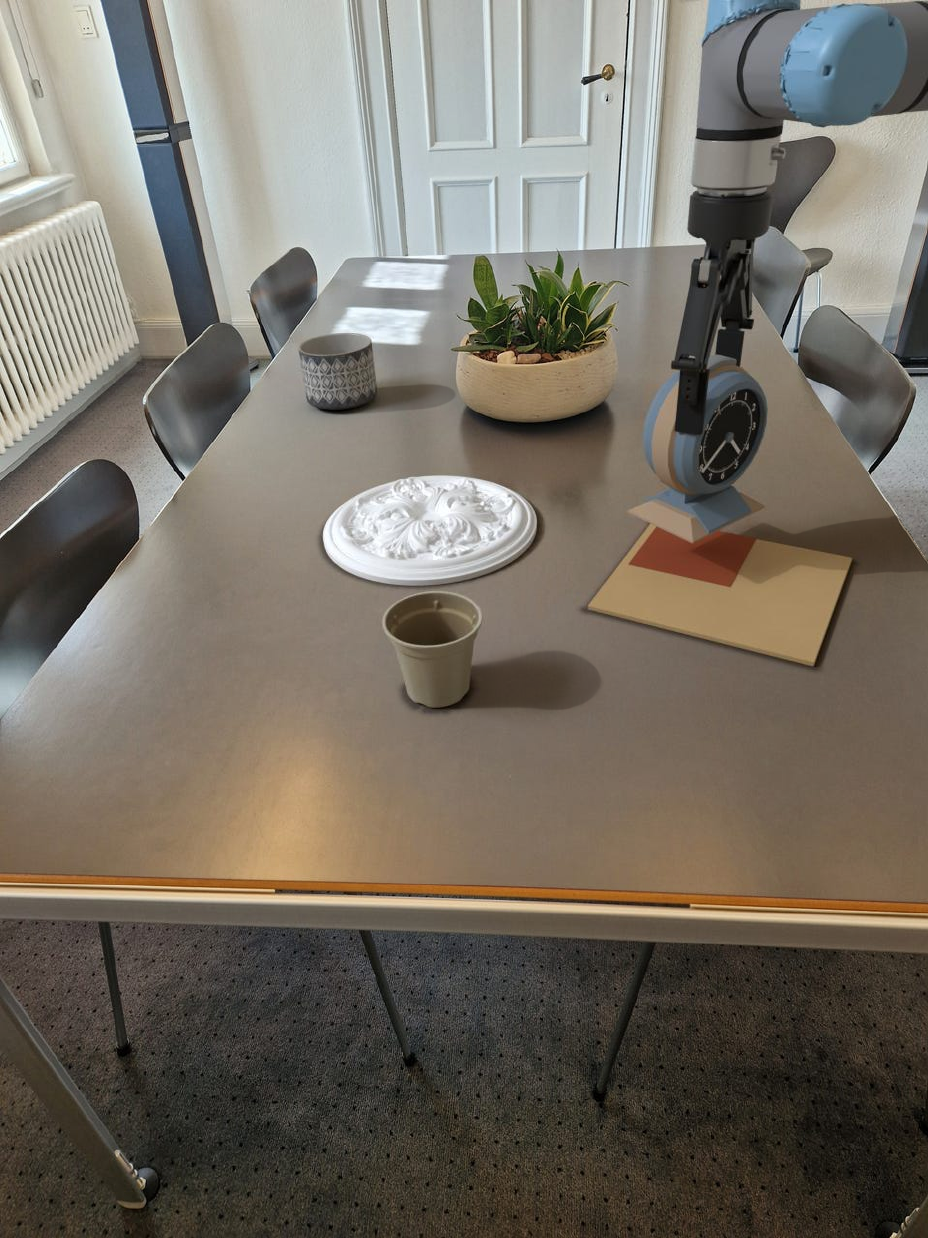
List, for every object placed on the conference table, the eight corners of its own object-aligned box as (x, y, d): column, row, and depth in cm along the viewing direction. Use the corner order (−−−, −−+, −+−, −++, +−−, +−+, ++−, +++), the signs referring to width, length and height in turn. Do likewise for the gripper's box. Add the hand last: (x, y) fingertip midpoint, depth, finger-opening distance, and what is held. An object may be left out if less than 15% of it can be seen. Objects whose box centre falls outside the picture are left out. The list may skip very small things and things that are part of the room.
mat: (851, 562, 99) (852, 556, 99) (813, 666, 84) (814, 661, 84) (653, 522, 110) (654, 517, 109) (587, 609, 94) (587, 604, 94)
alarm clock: (686, 546, 92) (703, 386, 81) (621, 515, 98) (629, 363, 88) (770, 504, 98) (795, 352, 88) (703, 477, 105) (720, 332, 95)
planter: (374, 413, 147) (366, 353, 141) (301, 416, 148) (291, 356, 142) (381, 388, 157) (375, 330, 151) (314, 391, 158) (305, 334, 152)
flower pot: (446, 648, 90) (440, 579, 85) (505, 689, 84) (503, 617, 79) (373, 687, 85) (362, 616, 80) (430, 734, 79) (422, 660, 74)
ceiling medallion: (280, 559, 107) (276, 537, 105) (391, 470, 127) (389, 450, 126) (480, 605, 96) (479, 581, 95) (567, 499, 117) (568, 478, 115)
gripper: (737, 214, 69) (708, 459, 81) (802, 169, 86) (770, 376, 98) (648, 211, 72) (633, 447, 84) (727, 168, 89) (705, 369, 101)
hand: (707, 409), depth 91 cm, fingers closed on alarm clock, 12 cm apart
